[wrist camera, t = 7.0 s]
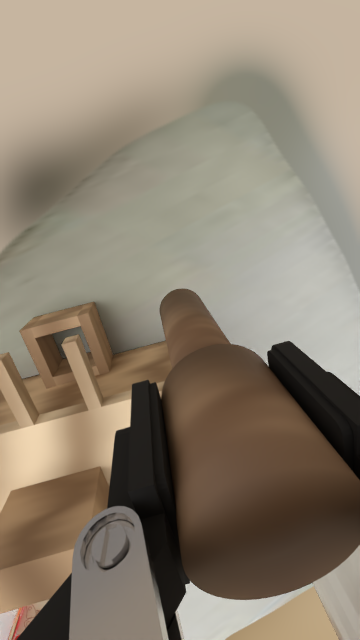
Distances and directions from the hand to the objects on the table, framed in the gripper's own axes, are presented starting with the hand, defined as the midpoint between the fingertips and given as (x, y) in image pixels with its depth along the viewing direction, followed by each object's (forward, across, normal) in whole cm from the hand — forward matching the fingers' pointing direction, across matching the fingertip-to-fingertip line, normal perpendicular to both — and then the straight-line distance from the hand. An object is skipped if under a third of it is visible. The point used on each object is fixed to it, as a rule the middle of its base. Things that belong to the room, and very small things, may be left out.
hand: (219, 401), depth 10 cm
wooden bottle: (+9, 0, 0) cm, 9 cm away
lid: (+10, +9, +8) cm, 15 cm away
